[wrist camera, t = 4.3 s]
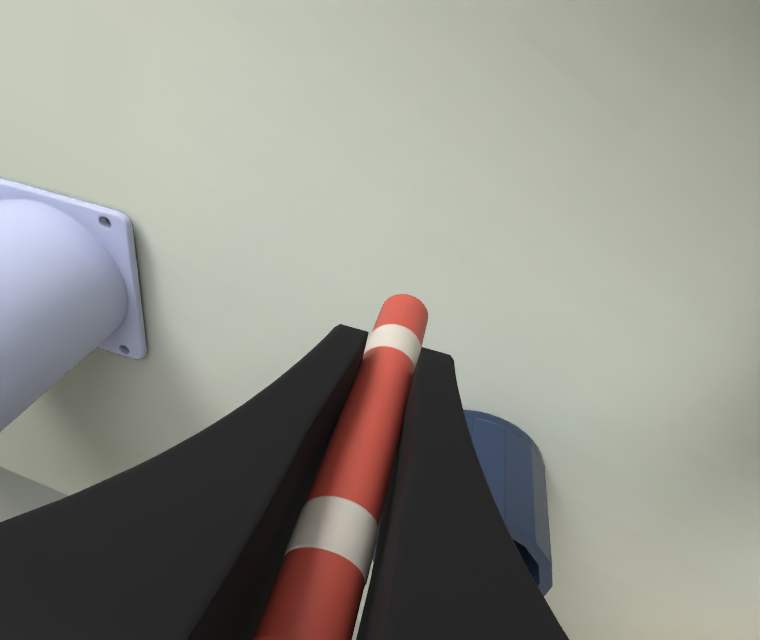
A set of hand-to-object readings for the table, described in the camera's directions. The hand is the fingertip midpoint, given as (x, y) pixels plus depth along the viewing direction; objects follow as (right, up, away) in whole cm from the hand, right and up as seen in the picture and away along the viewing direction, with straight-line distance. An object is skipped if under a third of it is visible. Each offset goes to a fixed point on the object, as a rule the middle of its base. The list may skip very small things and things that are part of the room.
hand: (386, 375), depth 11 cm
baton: (0, +1, +2) cm, 2 cm away
